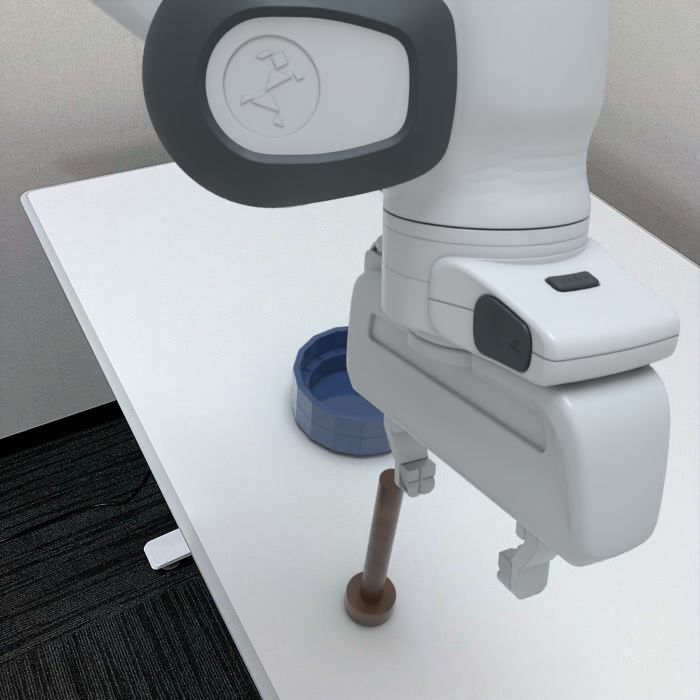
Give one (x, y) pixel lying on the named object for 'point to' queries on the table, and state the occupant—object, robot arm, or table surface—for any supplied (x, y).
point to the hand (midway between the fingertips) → (462, 533)
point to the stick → (377, 559)
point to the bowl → (334, 398)
